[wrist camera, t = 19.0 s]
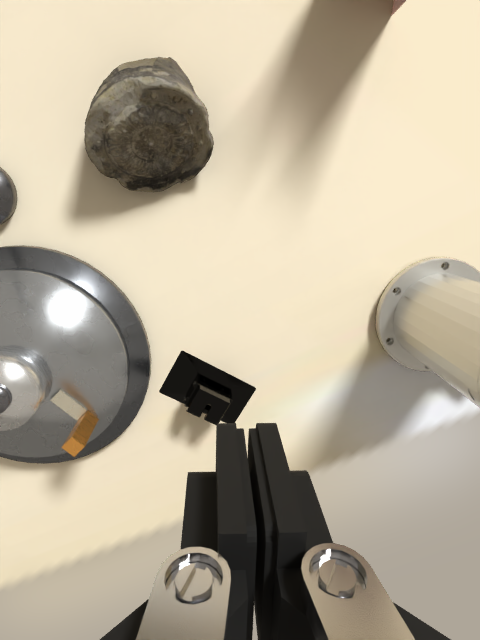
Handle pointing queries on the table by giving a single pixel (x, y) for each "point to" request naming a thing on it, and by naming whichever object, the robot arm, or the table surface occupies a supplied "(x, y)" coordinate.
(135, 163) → the fossil
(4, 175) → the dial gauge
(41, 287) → the platter
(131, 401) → the base
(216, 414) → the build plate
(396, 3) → the greeting card
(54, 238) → the table surface
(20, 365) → the cover
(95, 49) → the table surface
